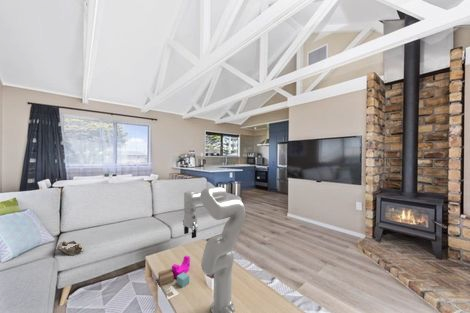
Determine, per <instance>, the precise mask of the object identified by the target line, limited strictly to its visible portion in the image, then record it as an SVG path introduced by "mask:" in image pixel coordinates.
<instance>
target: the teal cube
mask: <svg viewBox="0 0 470 313" xmlns="http://www.w3.org/2000/svg"><path fill="white" fill-rule="evenodd" d="M176 285H178V286H180V287H181V288H184V287H186V286H188V285H190V275H188V274H187V273H186V274H185V273H184V272H183V273H181V274H180V275H178V276H177V278H176Z"/></svg>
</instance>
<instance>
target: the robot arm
mask: <svg viewBox="0 0 470 313" xmlns="http://www.w3.org/2000/svg"><path fill="white" fill-rule="evenodd" d="M227 196H228V192H227V190H226V189H225V188H224V187H221V186H214V187H206V188H203V189H202V190H201V191H199V192H198V191H197V192H195V191H191V190H190V191H189V190H188V191H186V192H184V194H183V205H184V206H183V220H182V222H183V224H182V225H183V234H184V235H187V234H189V233H190V232H189V231H190V229H191V239H195V238H197V230H198V227H199V225H198V215H197V212H196V205H201V204H202V205H203V206H204V208H205V210H206V211H207V212H208V213H209V215H210V217H211V218H213V219H214V220H216V221H220V220H224V219H225V220H226V219H227V221H226V222H225V224H224V226H223V228H222V232H221V233H220V234H218V235H215V236H213V237H210V238H209V239H208V240H207V242H206V243H205V246H204V249H203V253H202V257H201V270H202V272H203V274H204V275H206V276H212V275H213V302H212V303H211V304H210V311H211V313H235V312H236V309H235V304H234V302H233V300H232V282H233V281H232V279H233V278H232V272H233V265H234V252H233V251H234V250H235V248H236V245H237V243H238V239H239V236H240V234H241V230H242V228H243V226H244V222H245V221H246V208H245V205H244V203H243V201H241V200H239V199H237V198H236V199H235V198H232V199H231V198H230V199H226V198H227Z"/></svg>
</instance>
